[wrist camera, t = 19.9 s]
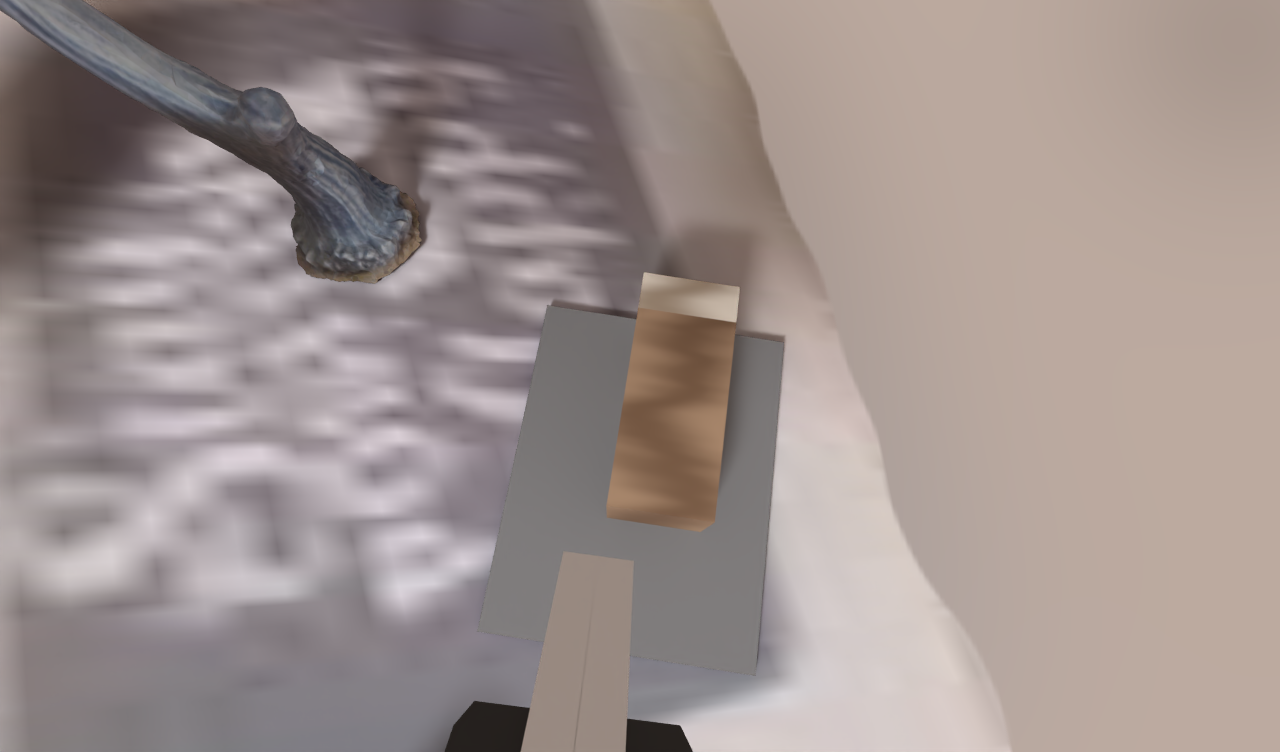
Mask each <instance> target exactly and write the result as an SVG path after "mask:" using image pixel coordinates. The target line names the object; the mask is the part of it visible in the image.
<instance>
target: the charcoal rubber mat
mask: <svg viewBox="0 0 1280 752" xmlns="http://www.w3.org/2000/svg"><path fill="white" fill-rule="evenodd" d="M635 325H636V319H632V318H626V317H619V316H613V315H607V314H600V313H594V312H587V311H581V310H575V309H568V308H562V307H556V306H549V305H547V310H546V315H545V319H544V324H543V329H542V333H541V338H540V343H539V347H538V352H537V357H536V361H535V366H534V370H533V375H532V380H531V384H530V389H529V394H528V398H527V403H526V408H525V412H524V417H523V422H522V426H521V431H520V436H519V440H518V445H517V449H516V454H515V459H514V463H513V468H512V473H511V477H510V482H509V487H508V491H507V496H506V501H505V505H504V510H503V515H502V519H501V524H500V528H499V533H498V538H497V542H496V547H495V552H494V556H493V561H492V566H491V570H490V575H489V580H488V584H487V589H486V594H485V598H484V603H483V607H482V612H481V617H480V621H479V626H478V631H477V632H484V633H490V634H496V635H502V636H509V637H515V638H521V639H527V640H534V641H540V642H544V640H545V636H546V631H547V626H548V622H549V617H550V612H551V608H552V603H553V598H554V594H555V589H556V584H557V579H558V575H559V570H560V565H561V561H562V556H563V551H565V552H573V553H580V554H587V555H595V556H602V557H609V558H616V559H624V560H631V561H634V567H633V590H632V613H631V636H630V656H634V657H640V658H646V659H653V660H659V661H665V662H672V663H678V664H684V665H690V666H697V667H703V668H709V669H715V670H722V671H728V672H734V673H740V674H747V675H753V676H756V664H757V653H758V641H759V629H760V618H761V606H762V594H763V583H764V571H765V559H766V548H767V536H768V524H769V513H770V501H771V489H772V478H773V466H774V454H775V443H776V431H777V419H778V408H779V396H780V385H781V373H782V361H783V350H784V342H778V341H772V340H766V339H759V338H753V337H746V336H740V335H735V339H734V348H733V358H732V367H731V376H730V386H729V395H728V404H727V414H726V423H725V432H724V442H723V451H722V460H721V470H720V479H719V488H718V498H717V507H716V516H715V523H713V524H712V525H710V526H709V527H707V528H706V529H704V530H703V531H701V532H697V531H690V530H684V529H677V528H671V527H664V526H658V525H651V524H645V523H638V522H632V521H625V520H619V519H612V518H607V507H606V505H607V499H608V493H609V487H610V481H611V474H612V468H613V462H614V456H615V450H616V443H617V437H618V431H619V425H620V418H621V412H622V406H623V400H624V394H625V387H626V381H627V375H628V369H629V362H630V356H631V350H632V344H633V338H634V331H635Z"/></svg>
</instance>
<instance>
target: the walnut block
mask: <svg viewBox="0 0 1280 752" xmlns="http://www.w3.org/2000/svg"><path fill="white" fill-rule="evenodd" d="M739 292H740V287H736V286H730V285H723V284H716V283H710V282H703V281H697V280H690V279H684V278H677V277H671V276H664V275H657V274H651V273H644V275H643V282H642V288H641V294H640V300H639V306H638V313H637V319H636V325H635V331H634V338H633V344H632V350H631V356H630V362H629V369H628V375H627V381H626V387H625V394H624V400H623V406H622V412H621V418H620V425H619V431H618V437H617V443H616V450H615V456H614V462H613V468H612V474H611V481H610V487H609V493H608V499H607V505H606V507H607V518H612V519H619V520H625V521H632V522H638V523H645V524H651V525H658V526H664V527H671V528H677V529H684V530H690V531H697V532H701V531H703V530H704V529H706V528H707V527H709V526H710V525H712V524H713V523H715V516H716V507H717V498H718V488H719V479H720V470H721V460H722V451H723V442H724V432H725V423H726V414H727V404H728V395H729V386H730V376H731V367H732V358H733V348H734V339H735V330H736V320H737V311H738V302H739Z"/></svg>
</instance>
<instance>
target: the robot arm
mask: <svg viewBox="0 0 1280 752" xmlns="http://www.w3.org/2000/svg"><path fill="white" fill-rule="evenodd" d="M633 567H634V561H631V560H624V559H616V558H609V557H602V556H595V555H587V554H580V553H573V552H565V551H563V556H562V561H561V565H560V570H559V575H558V579H557V584H556V589H555V594H554V598H553V603H552V608H551V612H550V617H549V622H548V626H547V631H546V636H545V640H544V645H543V650H542V654H541V659H540V664H539V668H538V673H537V678H536V683H535V687H534V692H533V697H532V701H531V706H530V708H525V707H517V706H509V705H502V704H494V703H486V702H478V701H474V702H473V703H472V705H471V706H470V707H469V708H468V709H467V710H466V712H465V713H464V714H463V715H462V716H461V717H460V719H459V720H458V721H457V722H456V723H455V724H454V726H453V729H452V732H451V734H450V737H449V740H448V743H447V746H446V749H445V752H693V751H692V749H691V747H690V745H689V743H688V741H687V739H686V736H685V734H684V732H683V730H682V728H681V726H680V725H672V724H664V723H657V722H649V721H641V720H633V719H627V705H628V682H629V659H630V636H631V613H632V590H633Z"/></svg>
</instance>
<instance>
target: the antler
mask: <svg viewBox="0 0 1280 752" xmlns="http://www.w3.org/2000/svg"><path fill="white" fill-rule="evenodd" d="M0 10H1V11H2V12H4V13H5V14H7V15H8V16H10V17H11V18H13V19H14V20H16V21H17V22H18V23H19V24H20V25H21V26H22V27H23V28H24V29H26V30H27V31H29V32H30V33H31V34H33V35H34V36H36V37H37V38H39V39H40V40H41V41H43V42H44V43H46V44H47V45H48V46H50V47H51V48H53V49H54V50H56V51H57V52H59V53H61V54H62V55H64V56H65V57H67V58H69V59H70V60H72V61H73V62H75V63H76V64H78V65H79V66H81V67H82V68H84V69H85V70H87V71H88V72H90V73H92V74H93V75H95V76H96V77H98V78H100V79H101V80H103V81H104V82H106V83H108V84H109V85H111V86H112V87H114V88H115V89H117V90H119V91H120V92H122V93H123V94H125V95H127V96H128V97H130V98H132V99H134V100H136V101H138V102H140V103H142V104H144V105H145V106H147V107H148V108H149V109H151V110H153V111H156V112H158V113H160V114H161V115H163V116H164V117H166V118H168V119H169V120H171V121H173V122H175V123H176V124H178V125H180V126H182V127H184V128H185V129H186V130H188V131H189V132H191V133H193V134H195V135H197V136H199V137H202V138H204V139H207V140H209V141H211V142H212V143H214V144H216V145H217V146H219V147H221V148H223V149H225V150H227V151H229V152H231V153H233V154H234V155H236V156H237V157H238V158H240V159H242V160H243V161H245V162H246V163H248V164H250V165H252V166H254V167H256V168H257V169H259V170H261V171H263V172H266V173H267V174H268V175H270V176H271V177H272V178H273V179H274V180H276V181H277V183H279V184H280V185H282V186H283V187H284V188H285V189H286V190H287V191H288V192H289V193H290V194H291V195H292V197H293V199H294V201H295V203H296V204H295V205H294V207H295V211H296V212H295V216H294V218H293V219H292V221H291V227H292V230H293V237H294V239H295V241H296V243H298V246H296V247H297V248H296V252H297V260H298V264H299V265H300V266H301V267H302V268H303V269H304V270H305V272H306V274H309V275H310V276H312V277H316V278H322V279H325V278H328V279H330V280H335V281H339V282H341V281H344V282H345V281H352V282H354V281H361V282H365V283H373V284H375V283H377V281H378V279H380V278H382V277H385V276H387V275H389V274H390V273H391V272H392V271H393V270H394V269H396V268H397V267H399V266H400V264H402V263H404V262H405V261H406V259H407V258H408V257H409V256H410V254H411V253H412V252H414V251H415V250H416V249H417V248H418V247H419V246H420V243H419V242H420V241H421V238H419V234H420V232H419V230H418V228H419V224H420V222H419V221H418V217H419V212H418V211H417V209H416V207H415V206H416V204H415V203H413V199H411V198H410V197H409V196H408V195H407V194H406V193H402V192H401V191H400V190H399V188H397V186H395V185H389V184H385V183H384V182H381V181H380V180H379V179H378V178H376V177H374V176H372V175H371V174H370V173H369V172H368V171H366V170H365V169H363V168H358V166H357V165H356V164H355V163H354V162H353V161H352V160H350V159H349V158H348V157H346V156H345V155H343V154H341V153H340V152H339V151H338V150H337V149H335V148H334V147H333V146H332V145H330V144H329V143H328V142H326V141H325V140H323V139H322V138H321V137H319V136H316V135H314V134H312V133H311V132H309V131H308V130H307V129H306V128H305V127H302V126H301V125H300V124H299V123H298V122H297V120H296V118H295V115H294V113H293V111H292V109H291V108H290V106H289V105H288V103H287V102H286V100H285V99H284V98H283V96H282V95H281V94H280V93H278V92H275V91H273V90H271V89H268V88H263V87H259V88H252V89H248V90H245V91H244V92H242V91H238V90H235V89H233V88H231V87H229V86H227V85H225V84H223V83H221V82H219V81H217V80H216V79H214V78H212V77H210V76H208V75H207V74H205V73H204V72H202V71H201V70H199V69H198V68H196V67H194V66H191V65H189V64H187V63H186V62H184V61H181V60H178V59H176V58H174V57H172V56H170V55H168V54H166V53H164V52H162V51H160V50H159V49H157V48H155V47H154V46H152V45H150V44H149V43H147V42H145V41H144V40H142V39H141V38H139V37H138V36H136V35H135V34H133V33H131V32H130V31H129V30H127V29H126V28H124V27H123V26H121V25H120V24H118V23H117V22H115V21H114V20H112V19H111V18H109V17H108V16H106V15H105V14H103V13H101V12H100V11H98V10H97V9H95V8H94V7H92V6H91V5H89V4H88V3H86V2H85V1H83V0H0Z"/></svg>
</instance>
